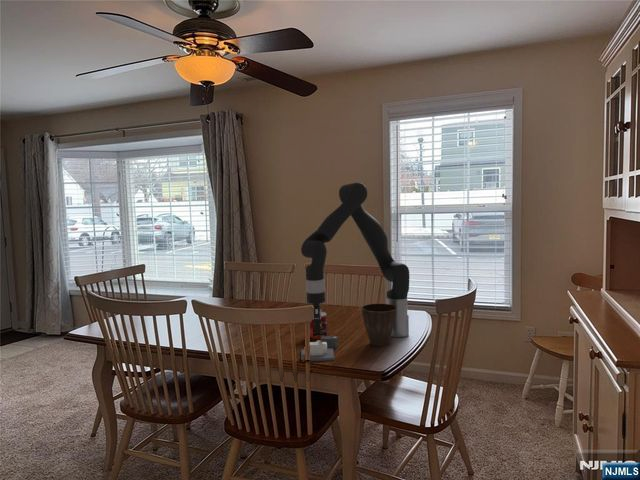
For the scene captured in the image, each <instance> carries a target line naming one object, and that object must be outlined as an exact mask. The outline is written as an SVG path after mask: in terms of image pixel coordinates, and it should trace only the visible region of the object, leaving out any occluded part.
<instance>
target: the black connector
mask: <svg viewBox="0 0 640 480" xmlns="http://www.w3.org/2000/svg"><path fill="white" fill-rule="evenodd" d="M338 339H339V338H338V336H336V335H327V336H321V340H316V342H326V343H327V349H332V348H333V349H337V348H338V347H339V343H338V342H339V340H338Z"/></svg>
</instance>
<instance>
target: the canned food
mask: <svg viewBox="0 0 640 480" xmlns="http://www.w3.org/2000/svg"><path fill="white" fill-rule="evenodd" d="M327 316H328V315H327V312H325V311H321V319H320V322H321V323H320V334H315V326H314V319H313V320H312V322H311V323H310V322H309V323H310V324H309V325H310V338H311V339H312V340H314V341H315V340H316V341H317V340H321V336H328V317H327Z"/></svg>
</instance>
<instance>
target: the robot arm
mask: <svg viewBox="0 0 640 480" xmlns="http://www.w3.org/2000/svg"><path fill="white" fill-rule="evenodd" d="M338 197H339V200H340V202H341V204H340V205H339V206H338V207H337V208H336V209H335V210H333V211H332V212H331V213H330V214H328V215H327V217H326V218H325V219H324V220H323V221H322V223H321V224H320V225H319V227H318V228H317V229H316V230H315V231H314V232H313V233H311V234H310V235H309V236H308V237H307V238H305V240H304V241H303V243H302V245H301V248H300V250H301V254H302V256H303V257H304V258H307V259H311V263H310V264H307V265H306V268H305V280H306V281H305V282H306V283H305V292H306V293H305V295H306V302H307V304H310V305H312V306H313V307H314V315H313V319H314V326H315V334H320V323H321V322H320V319H321V312H323V311H322V305H320V304H324V303H325V302H326V286H325V285H326V283H325V273H324V268H325V263H326V258H327V253H328V251H327V250H328V249H327V246H326V245H325V244H326V243H330V242H331V241H332V239H333V238H334V237H335V236H336V234H337V233H338V231H339V230H340V229H341V228H342V226H343V224H344V223H345V222H346V221H347V220H348V218H349V217H350V216H351V217H352V220H353V222H355V224H356V226H357V228H358V229H359V231H360V233H361V235H362V237H363V238H364V241H365V242H366V244H367V246H368V248H369V249H370V250H371V253H372V254H373V256H374V257H375V260H376V261H377V264H378V266H379V269H380V271H381V273H382V276H383V277H384V279H385V280H386V281H388V282H391V285H392V286H391V289H388V290H387V292H386V304H390V305H393V306H396V307H397V310H396V317H395V322H394V327H393V331H392V334H391V337H392V338H403V337H409V336H410V335H409V333H410V331H409V330H410V327H409V321H410V320H409V319H410V318H409V313H408V295H409V294H408V293H409V290H410V269H409V267H408V266H407V265H406V264H405V263H403V262H402V263H401V262H398V261H397V262H396V261H395V259H394V258H393V256H392V255H391V253H390V251H389V246H388V245H389V244H388V242H389V241H388V236H387V234H386V231H385V230H384V228H383V227H382V225H381V223H380V222H379V221H378V220H377V219H376V218H375V217H373V216H372V215H371V214H370V213H368V211H366V209H365V207H363V205H362V204H364V202H365V201H366V200H367V198H368V188H367V186H366V185H365V184H364V183H362V182H352V183H347V184H343V185H341V186H340V188H339V190H338Z"/></svg>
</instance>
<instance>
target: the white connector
mask: <svg viewBox="0 0 640 480" xmlns="http://www.w3.org/2000/svg"><path fill="white" fill-rule="evenodd" d="M309 346H310V355H326V354H327V349H328V348H327V343H326V342H317V341H312V342H311V341H309Z"/></svg>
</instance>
